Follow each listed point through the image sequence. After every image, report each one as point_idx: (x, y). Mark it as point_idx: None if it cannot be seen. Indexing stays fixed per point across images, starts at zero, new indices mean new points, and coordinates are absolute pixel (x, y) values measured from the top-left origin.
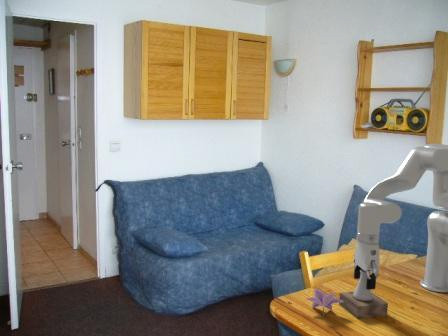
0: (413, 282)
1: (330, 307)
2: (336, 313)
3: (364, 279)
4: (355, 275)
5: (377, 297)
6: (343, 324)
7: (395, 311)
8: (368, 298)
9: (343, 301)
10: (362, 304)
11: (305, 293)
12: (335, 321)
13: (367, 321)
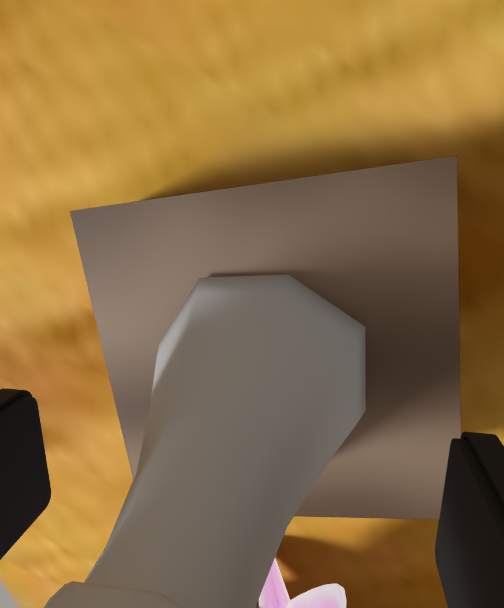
0: None
1: (275, 574)
2: (315, 529)
3: (262, 576)
4: (13, 536)
5: (276, 205)
6: None
7: (361, 22)
8: (358, 375)
9: (343, 596)
10: (421, 458)
11: (15, 556)
12: (430, 591)
13: (491, 392)
